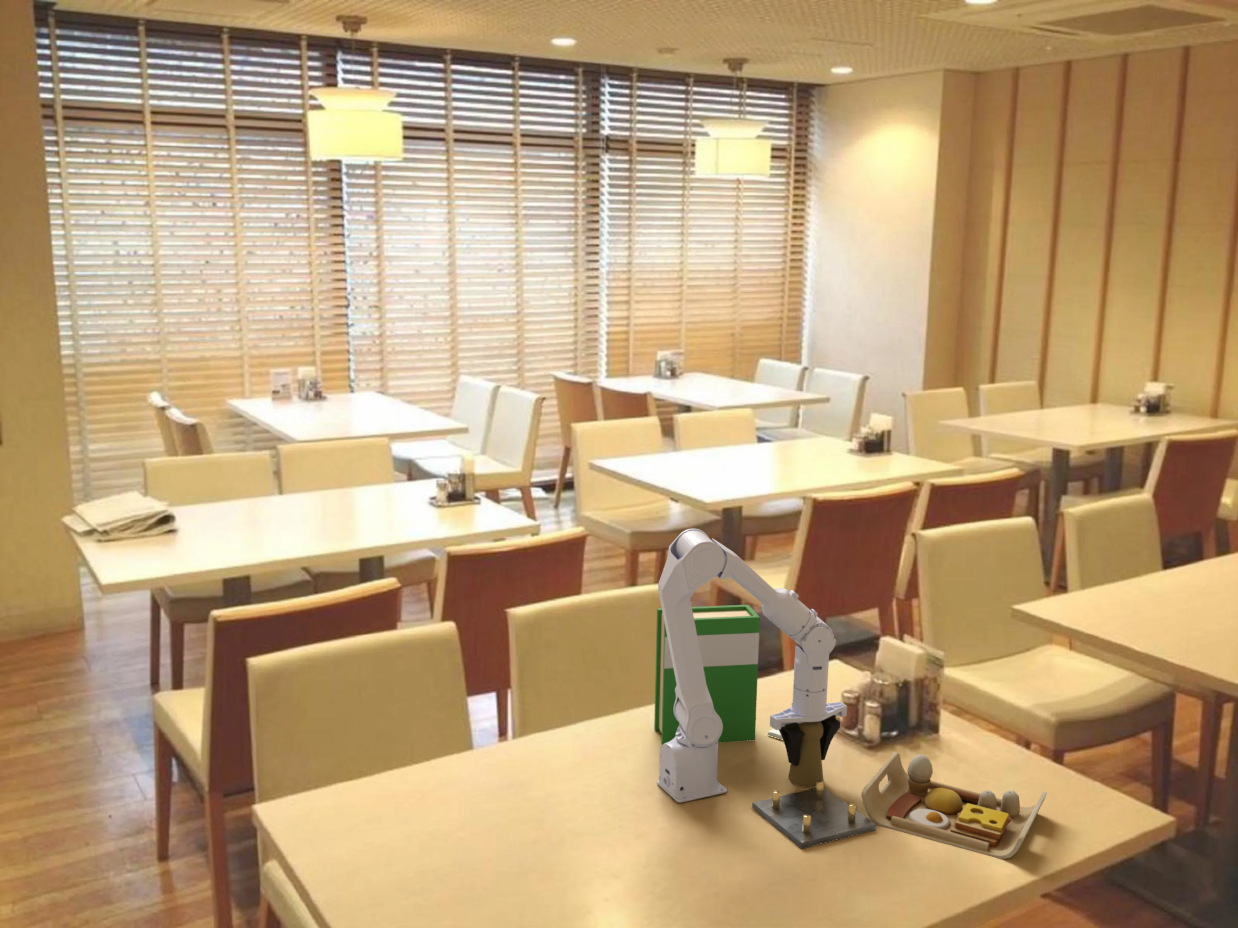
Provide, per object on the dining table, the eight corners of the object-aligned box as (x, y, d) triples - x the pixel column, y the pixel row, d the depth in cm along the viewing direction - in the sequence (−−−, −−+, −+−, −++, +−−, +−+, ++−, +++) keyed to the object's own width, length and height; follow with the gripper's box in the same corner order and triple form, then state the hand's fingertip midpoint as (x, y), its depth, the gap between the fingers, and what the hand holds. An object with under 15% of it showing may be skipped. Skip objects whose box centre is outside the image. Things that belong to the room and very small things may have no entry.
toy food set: (858, 822, 180) (861, 777, 178) (893, 778, 195) (896, 737, 194) (1022, 867, 167) (1026, 820, 166) (1045, 816, 182) (1049, 773, 181)
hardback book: (662, 745, 206) (665, 620, 201) (654, 729, 213) (657, 608, 208) (754, 740, 209) (759, 617, 204) (743, 724, 216) (748, 604, 211)
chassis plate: (801, 848, 171) (802, 827, 170) (752, 807, 183) (753, 787, 182) (875, 829, 177) (876, 809, 176) (822, 791, 189) (823, 772, 188)
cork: (799, 767, 198) (802, 709, 196) (829, 778, 194) (833, 718, 192) (781, 779, 193) (784, 719, 191) (812, 790, 189) (815, 729, 187)
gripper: (831, 671, 197) (827, 744, 199) (761, 684, 191) (758, 758, 193) (856, 685, 191) (851, 760, 193) (784, 699, 184) (781, 775, 187)
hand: (806, 760), depth 193 cm, fingers closed on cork, 5 cm apart
